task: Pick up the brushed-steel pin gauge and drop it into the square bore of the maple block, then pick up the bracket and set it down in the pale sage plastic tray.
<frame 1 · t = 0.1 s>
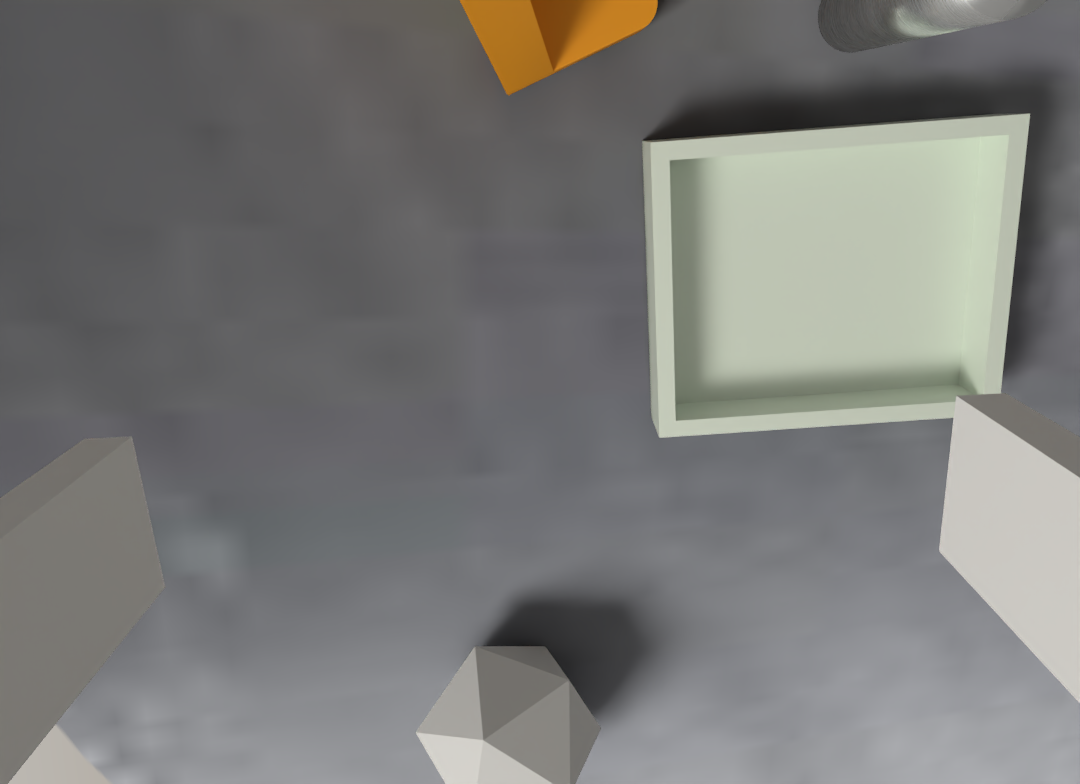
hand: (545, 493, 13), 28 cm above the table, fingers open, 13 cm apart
pin gauge: (854, 13, 37), on the table
die: (513, 679, 48), on the table
tray: (812, 273, 40), on the table
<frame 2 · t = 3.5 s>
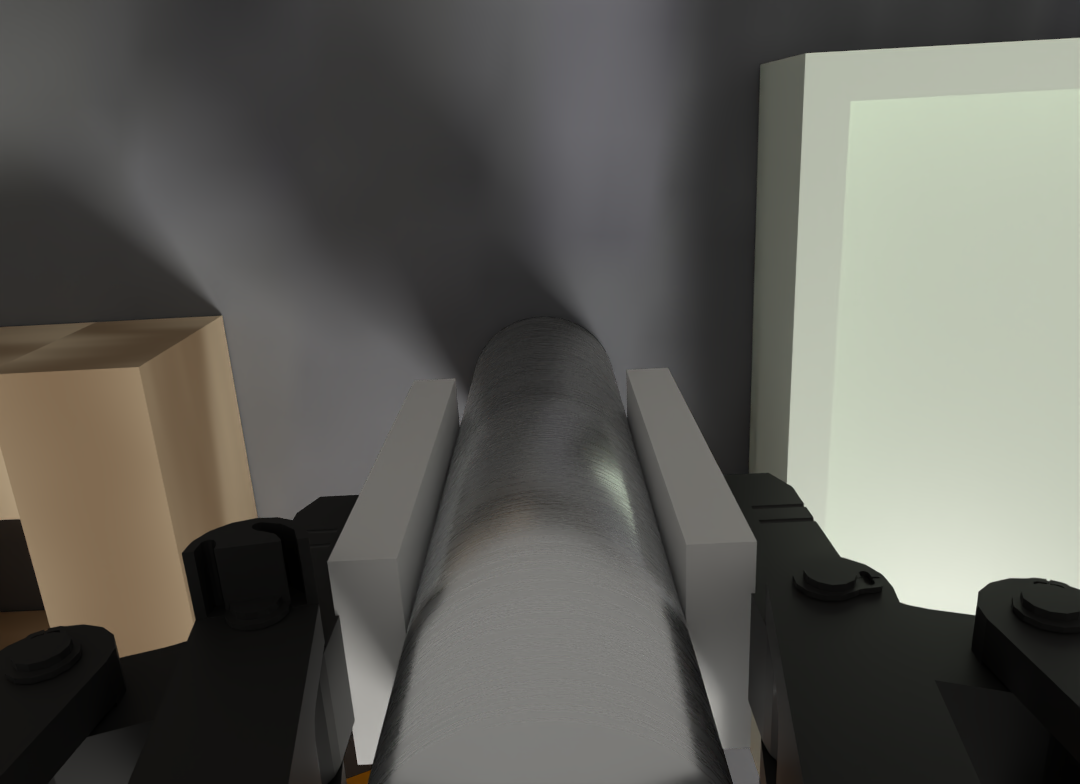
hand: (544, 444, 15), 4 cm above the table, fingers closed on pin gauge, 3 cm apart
pin gauge: (543, 385, 19), on the table, touching gripper
bore block: (51, 529, 20), on the table
tray: (1046, 422, 19), on the table
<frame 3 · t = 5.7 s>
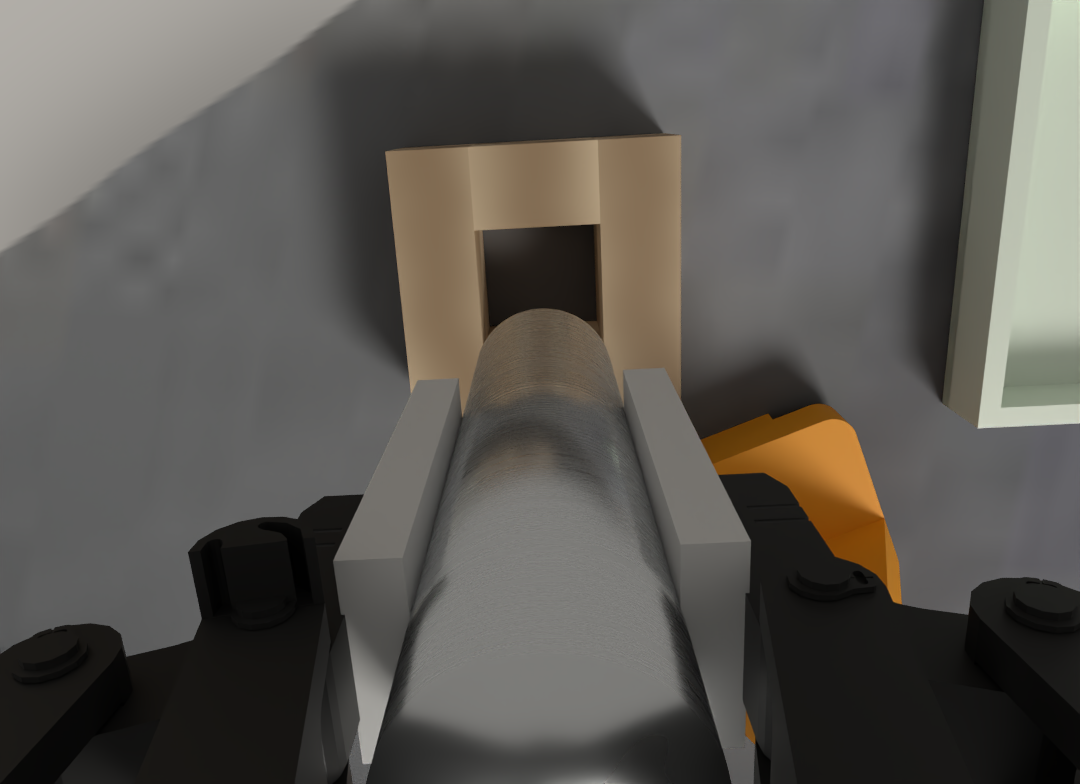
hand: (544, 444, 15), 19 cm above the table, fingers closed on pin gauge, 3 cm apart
pin gauge: (543, 374, 20), point 15 cm above the table, touching gripper
bore block: (540, 270, 33), on the table
bracket: (732, 505, 37), on the table
when the fingers open (5 cm above the table, at t = 8.3 s): pin gauge stays where it is, resting in bore block.
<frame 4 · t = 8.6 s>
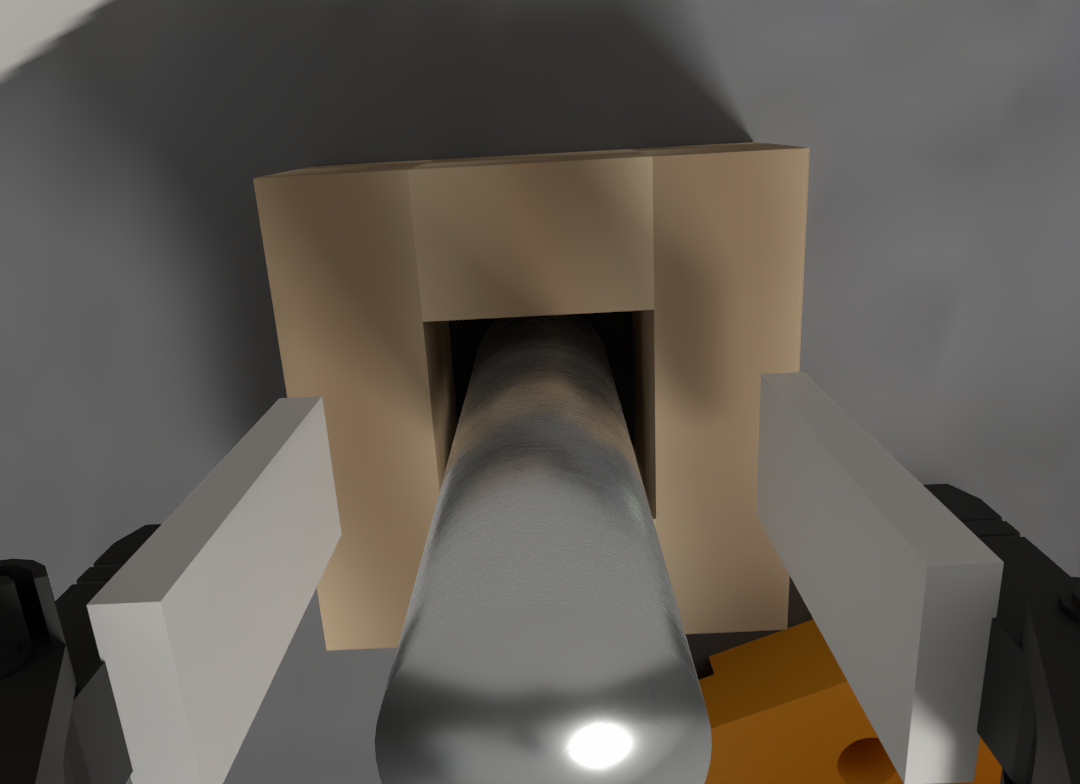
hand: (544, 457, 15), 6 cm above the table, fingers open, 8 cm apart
pin gauge: (541, 366, 20), resting in bore block
bore block: (543, 367, 20), on the table
bracket: (841, 716, 24), on the table
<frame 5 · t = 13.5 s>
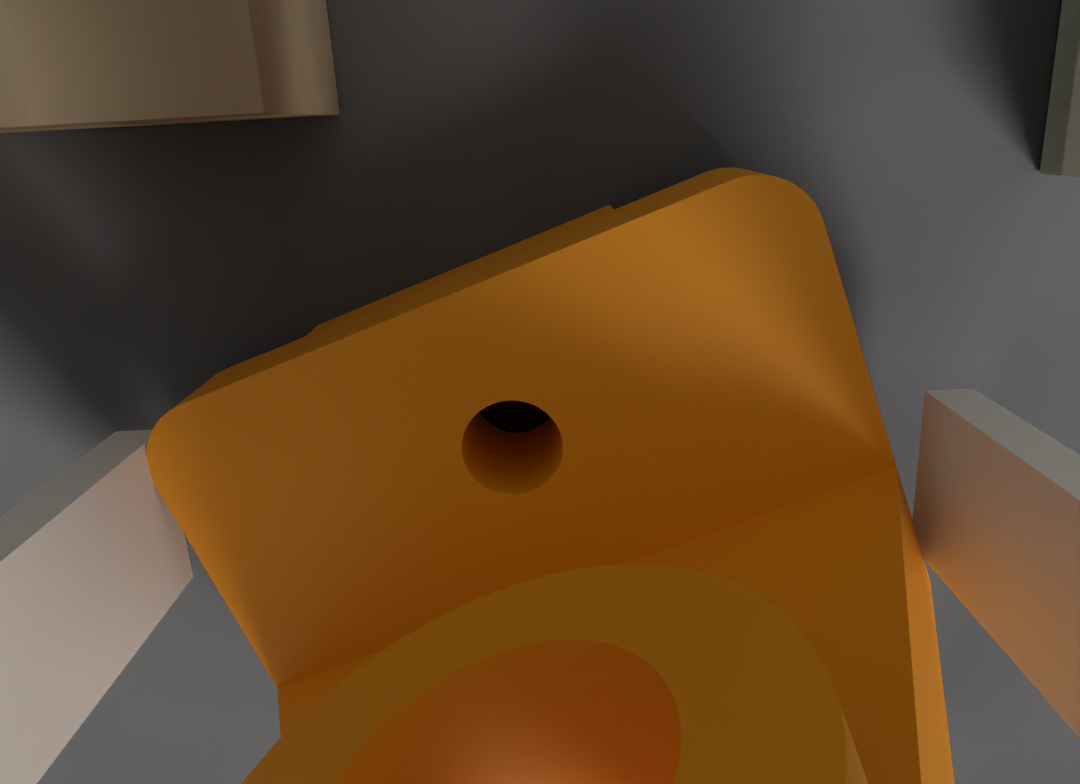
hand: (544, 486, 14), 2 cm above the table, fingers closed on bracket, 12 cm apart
bracket: (538, 440, 16), on the table, touching gripper
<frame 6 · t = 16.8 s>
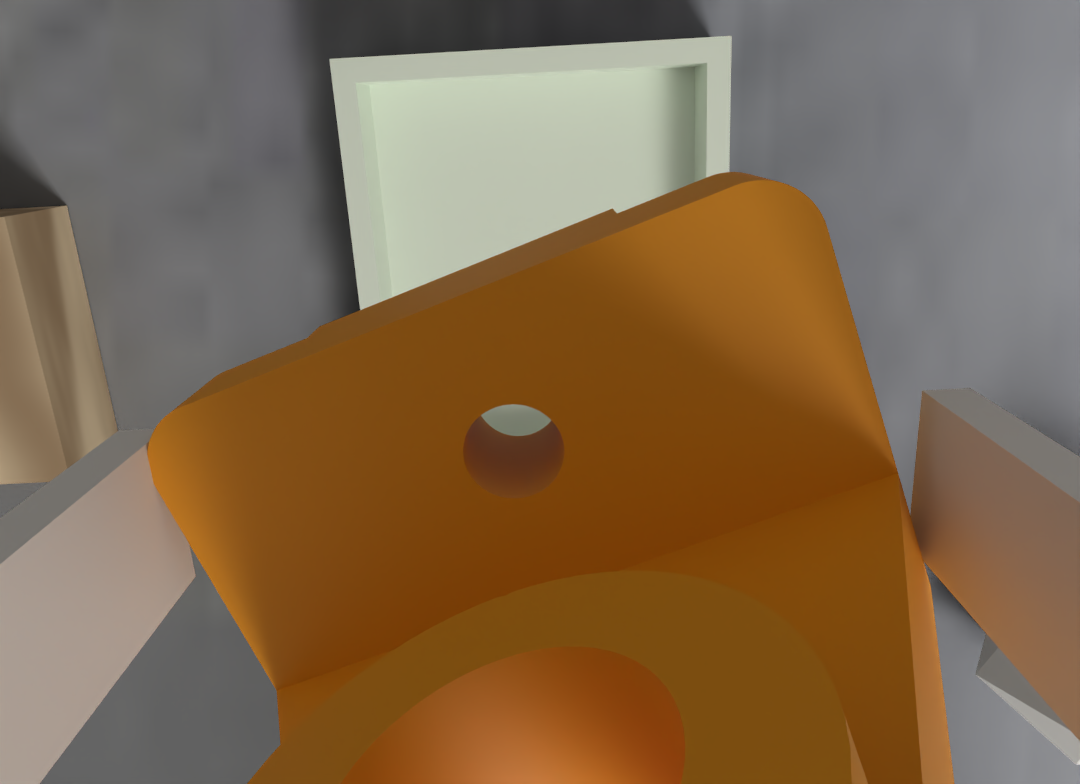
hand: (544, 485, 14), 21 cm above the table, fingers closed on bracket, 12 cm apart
die: (1046, 597, 38), on the table
tray: (541, 269, 33), on the table
bracket: (539, 443, 16), point 19 cm above the table, touching gripper
when the fingers open (5 cm above the table, at t = 20.2 s): bracket stays where it is, resting on tray.
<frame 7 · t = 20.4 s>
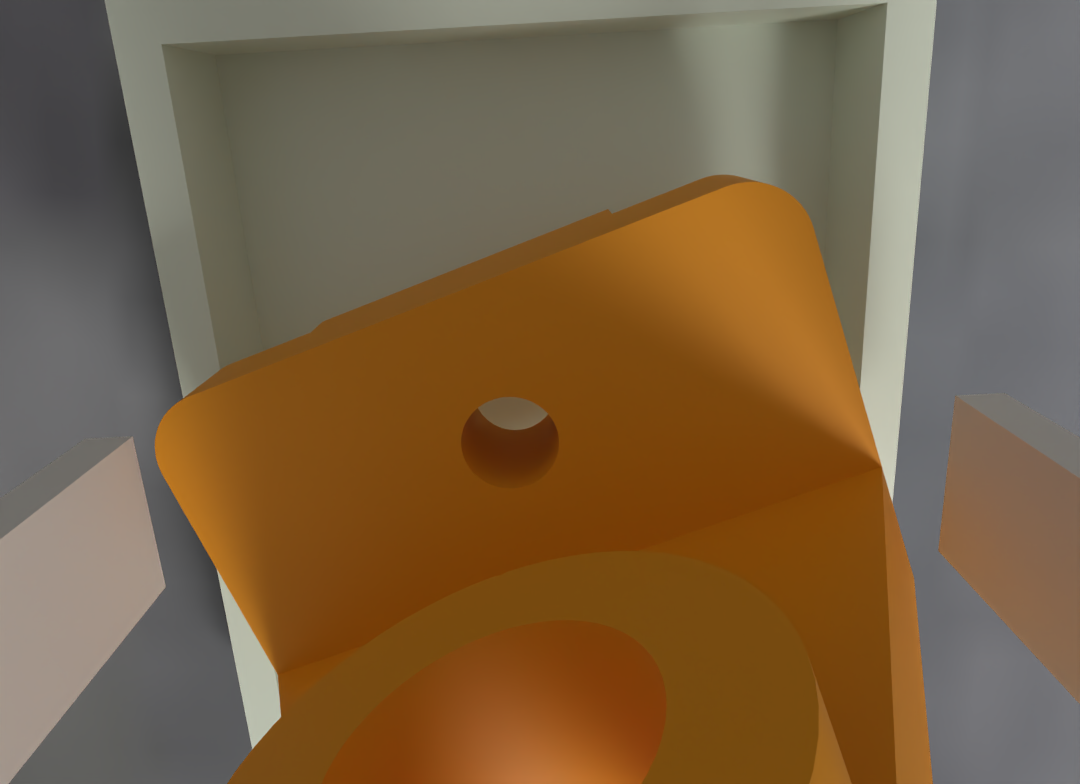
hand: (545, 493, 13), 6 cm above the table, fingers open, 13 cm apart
tray: (543, 385, 19), on the table
bracket: (535, 437, 16), point 3 cm above the table, touching tray
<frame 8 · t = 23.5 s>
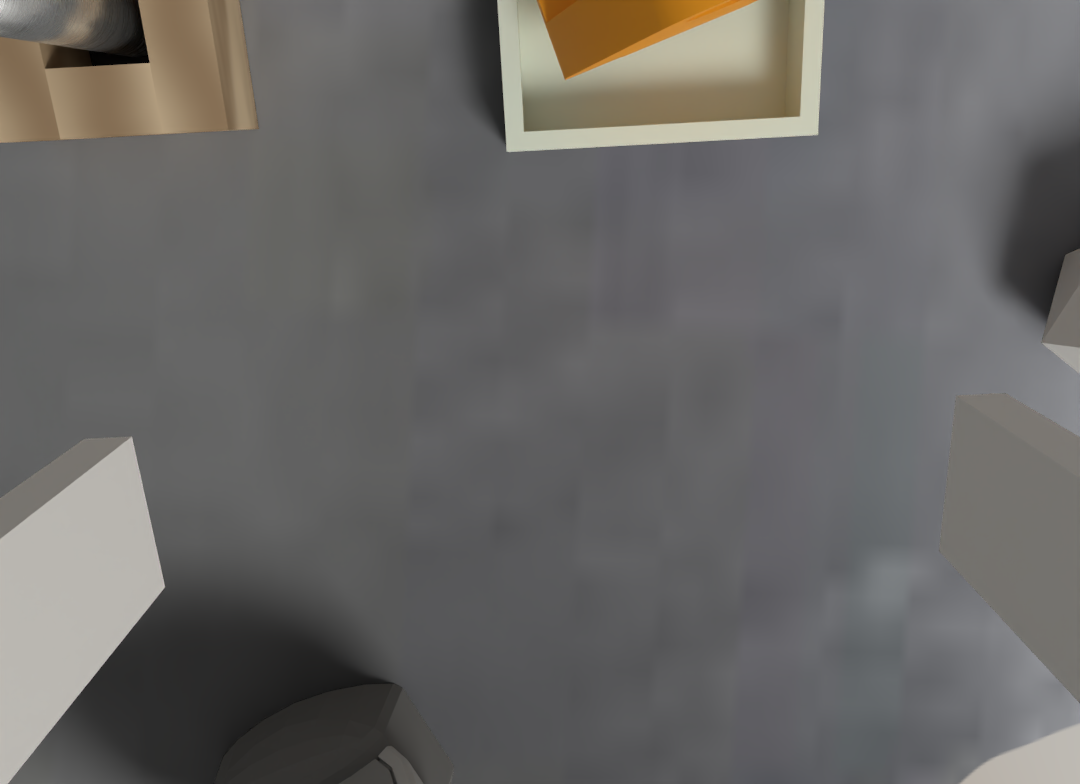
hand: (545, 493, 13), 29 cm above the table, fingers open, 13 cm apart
pin gauge: (130, 19, 38), resting in bore block
bore block: (131, 19, 38), on the table
alarm clock: (339, 763, 51), on the table
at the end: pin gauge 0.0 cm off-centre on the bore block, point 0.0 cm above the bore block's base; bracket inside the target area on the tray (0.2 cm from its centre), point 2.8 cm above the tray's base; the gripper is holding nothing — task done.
